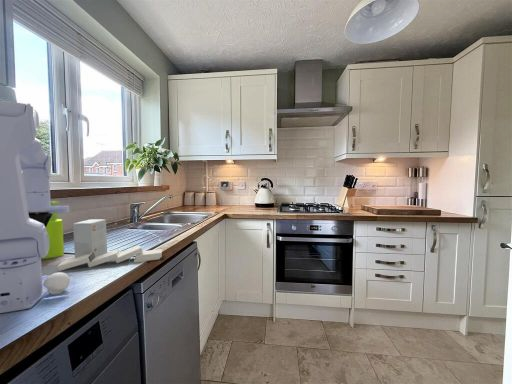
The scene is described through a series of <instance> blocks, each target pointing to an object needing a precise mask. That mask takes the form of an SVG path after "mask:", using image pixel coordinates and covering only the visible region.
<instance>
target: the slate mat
mask: <svg viewBox="0 0 512 384" xmlns="http://www.w3.org/2000/svg"><path fill="white" fill-rule="evenodd" d="M131 258H132V257H130V258H128V259H126V260H124V261H121V262H119V263H117V262H116V260H115V259H113V260H110V261H107V262H104V263H101V264H99V265H96V266H93V267H90V268H89V266H88V263H84V264H81V265H78V266H75V267H71V268H68V269H65V270H61V271H59V269H58V267H57V266H58V265H60V264H61V263H60V264H52V265H51V264H50V265H45V266H44V267H42V268H41V269H42V277H43V276H50V275H51V274H54V273H57V272H62V273H65V274H69V273H76V272H77V273H78V272H85V271H94V270H95V271H96V270H101V269H103V270H104V269H108V268H109V269H111V268H119V267H126V266H128V265H129V264H130V260H131Z"/></svg>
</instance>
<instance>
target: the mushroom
mask: <svg viewBox="0 0 512 384" xmlns="http://www.w3.org/2000/svg"><path fill="white" fill-rule="evenodd" d="M70 282H71V278H70V276H69V275H68V273H62V272H57V273H54V274H51V275H47V277H46V278H45V279H44V281H43V283H42V286H44V288H48V292H47V293H49V294H50V295H54V296H55V295H59V294H62V293H63V292H64V290H66V289H67V288H68V287H69V285H70Z"/></svg>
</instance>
